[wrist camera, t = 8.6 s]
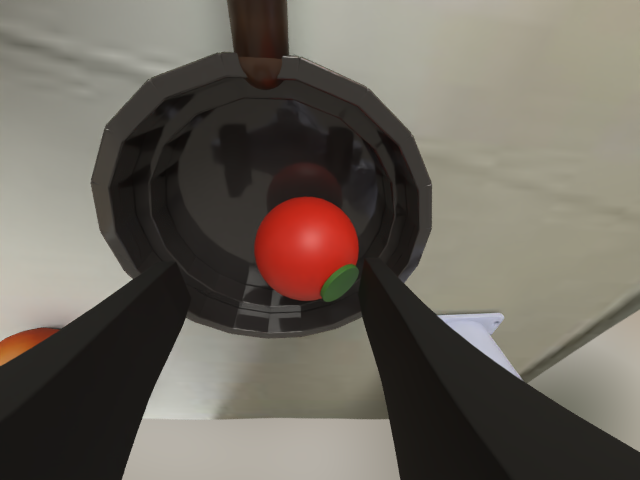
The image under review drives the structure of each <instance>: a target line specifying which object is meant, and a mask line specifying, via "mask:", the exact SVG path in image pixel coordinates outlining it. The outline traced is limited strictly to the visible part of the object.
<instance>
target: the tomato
mask: <svg viewBox="0 0 640 480" xmlns="http://www.w3.org/2000/svg"><path fill="white" fill-rule="evenodd" d="M358 253H359V244H358V238H357V234H356V231H355V228H354V226H353V224H352V222H351V221H350V219H349V218H348V216H347V215H346V214H345V213H344V212H343V211H342V210H341V209H340V208H339V207H337V206H336V205H334V204H333V203H331V202H329V201H326V200H324V199H321V198H316V197H297V198H292V199H289V200H287V201H284V202H282V203H281V204H279V205H277V206H276V207H275V208H273V209H272V210H271V211H270V212H269V213H268V214H267V215H266V216H265V218H264V219H263V221H262V222H261V224H260V226H259V228H258V231H257V234H256V238H255V244H254V254H255V260H256V264H257V267H258V269H259V271H260V273H261V275H262V277H263V279H264V280H265V281H266V282H267V283H268V285H269V286H270V287H272V288H273V289H274V290H275V291H277V292H278V293H280V294H281V295H283V296H286V297H288V298H291V299H295V300H300V301H313V300H318V299H323V300H324V301H326V302H331V301H334V300H336V299H338V298H339V297H341V296H342V295H343V294H344V293H346V292H347V291H348V290H349V289H350V288H351V286H352V285H353V284H354V282H355V281H356V279H357V277H358V274H359V270H358V268H357V267H356V264H357V260H358Z"/></svg>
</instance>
